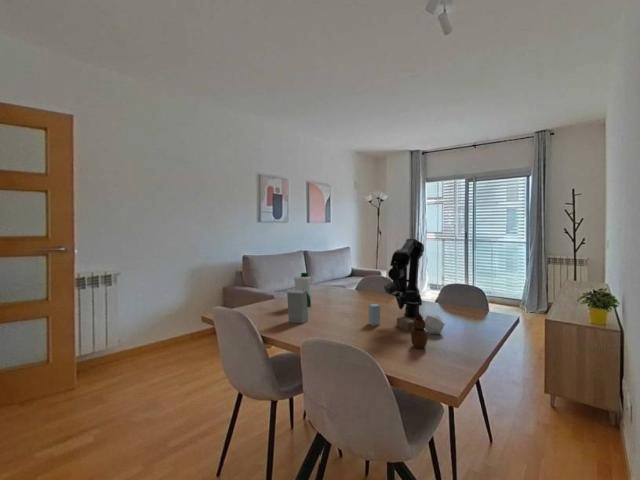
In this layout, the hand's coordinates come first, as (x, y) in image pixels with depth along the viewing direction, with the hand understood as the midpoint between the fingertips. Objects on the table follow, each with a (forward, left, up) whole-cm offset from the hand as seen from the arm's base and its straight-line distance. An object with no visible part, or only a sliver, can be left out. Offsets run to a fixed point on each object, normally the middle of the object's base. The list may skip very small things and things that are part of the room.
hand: (400, 309), depth 167 cm
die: (-7, +16, -8) cm, 19 cm away
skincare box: (+45, -24, -8) cm, 52 cm away
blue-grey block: (+11, -6, -8) cm, 15 cm away
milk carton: (+33, -53, -8) cm, 63 cm away
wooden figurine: (+10, +28, -8) cm, 30 cm away
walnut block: (0, 0, -6) cm, 6 cm away
